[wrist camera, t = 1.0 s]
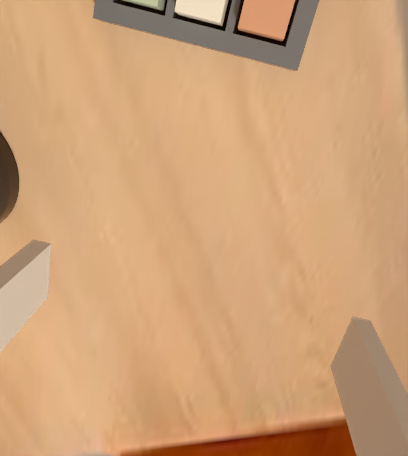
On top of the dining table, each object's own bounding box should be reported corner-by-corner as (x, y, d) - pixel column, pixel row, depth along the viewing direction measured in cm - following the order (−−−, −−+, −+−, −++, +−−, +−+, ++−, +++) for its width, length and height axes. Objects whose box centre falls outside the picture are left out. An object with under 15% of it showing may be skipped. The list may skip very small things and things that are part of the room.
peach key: (238, 30, 34) (237, 27, 32) (251, -21, 33) (251, -28, 31) (281, 41, 34) (284, 39, 32) (296, -9, 33) (299, -16, 30)
